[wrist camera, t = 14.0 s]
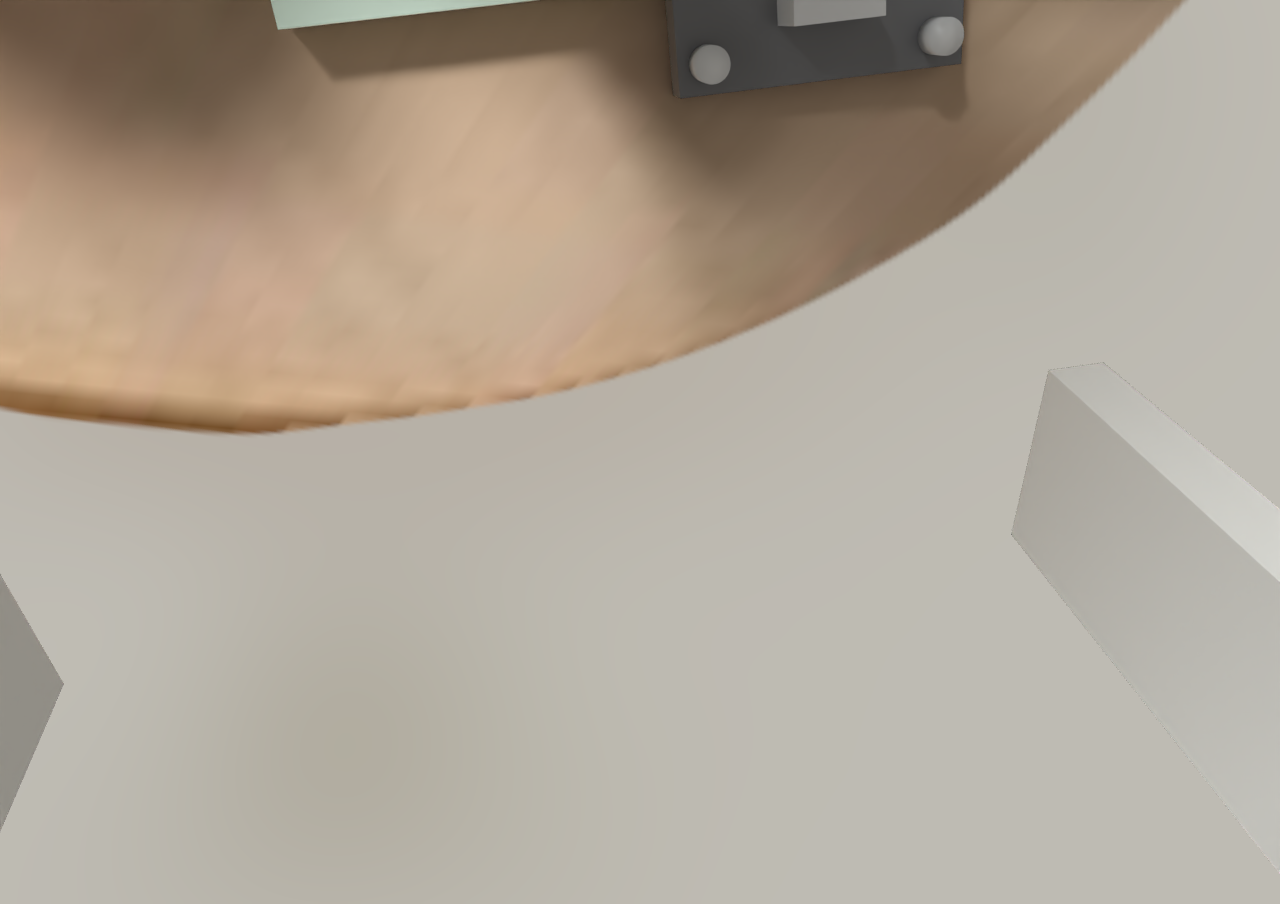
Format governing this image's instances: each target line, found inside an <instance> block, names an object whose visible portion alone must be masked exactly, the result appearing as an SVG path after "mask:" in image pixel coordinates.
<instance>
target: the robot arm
mask: <svg viewBox="0 0 1280 904" xmlns="http://www.w3.org/2000/svg"><path fill="white" fill-rule="evenodd" d="M1011 535H1012V536H1013V537H1014V539H1015V540H1016V541H1017V542H1018V544H1019V545H1020V546H1021V547H1022V549H1023V550H1024V551H1025V552H1026V554H1027V555H1028V556H1029V557H1030V559H1031V560H1032V561H1033V563H1034V564H1035V565H1036V566H1037V568H1038V569H1039V570H1040V571H1041V572H1042V574H1043V575H1044V576H1045V578H1046V579H1047V580H1048V581H1049V583H1050V584H1051V585H1052V586H1053V588H1054V589H1055V590H1056V591H1057V593H1058V594H1059V595H1060V597H1061V598H1062V599H1063V601H1064V602H1065V603H1066V604H1067V605H1068V607H1069V608H1070V609H1071V611H1072V612H1073V613H1074V614H1075V616H1076V617H1077V618H1078V619H1079V621H1080V622H1081V623H1082V624H1083V626H1084V627H1085V628H1086V629H1087V631H1088V632H1089V633H1090V635H1091V636H1092V637H1093V638H1094V640H1095V641H1096V642H1097V644H1098V645H1099V646H1100V647H1101V648H1102V650H1103V651H1104V652H1105V654H1106V655H1107V656H1108V657H1109V659H1110V660H1111V661H1112V663H1113V664H1114V665H1115V666H1116V668H1117V669H1118V670H1119V671H1120V673H1121V674H1122V675H1123V676H1124V678H1125V679H1126V680H1127V681H1128V683H1129V684H1130V685H1131V686H1132V688H1133V689H1134V690H1135V691H1136V693H1137V694H1138V695H1139V697H1140V698H1141V699H1142V700H1143V702H1144V703H1145V704H1146V705H1147V707H1148V708H1149V709H1150V711H1151V712H1152V713H1153V714H1154V716H1155V717H1156V718H1157V719H1158V721H1159V722H1160V723H1161V724H1162V726H1163V727H1164V728H1165V729H1166V731H1167V732H1168V733H1169V735H1170V736H1171V737H1172V738H1173V740H1174V741H1175V742H1176V743H1177V745H1178V746H1179V747H1180V748H1181V750H1182V751H1183V752H1184V754H1185V755H1186V756H1187V757H1188V759H1189V760H1190V761H1191V762H1192V764H1193V765H1194V766H1195V767H1196V769H1197V770H1198V771H1199V773H1200V774H1201V775H1202V776H1203V778H1204V779H1205V780H1206V781H1207V783H1208V784H1209V785H1210V787H1211V788H1212V789H1213V790H1214V791H1215V793H1216V794H1217V795H1218V797H1219V798H1220V799H1221V800H1222V802H1223V803H1224V804H1225V805H1226V807H1227V808H1228V809H1229V810H1230V812H1231V813H1232V814H1233V816H1234V817H1235V818H1236V819H1237V821H1238V822H1239V823H1240V824H1241V826H1242V827H1243V828H1244V829H1245V831H1246V832H1247V833H1248V835H1249V836H1250V837H1251V838H1252V839H1253V841H1254V842H1255V843H1256V845H1257V846H1258V847H1259V849H1260V850H1261V851H1262V852H1263V854H1264V855H1265V856H1266V857H1267V859H1269V861H1270V862H1271V864H1272V865H1273V866H1274V867H1275V869H1276V870H1277V871H1278V872H1279V874H1280V509H1279V508H1278V507H1277V506H1276V505H1274V504H1273V503H1272V502H1271V501H1270V500H1268V499H1267V498H1266V497H1265V496H1264V495H1262V494H1261V493H1260V492H1259V491H1258V490H1256V489H1255V488H1254V487H1253V486H1252V485H1250V484H1249V483H1248V482H1247V481H1245V480H1244V479H1243V478H1242V477H1241V476H1239V475H1238V474H1237V473H1236V472H1235V471H1233V470H1232V469H1231V468H1230V467H1229V466H1227V465H1226V464H1225V463H1224V462H1223V461H1221V460H1220V459H1219V458H1218V457H1217V456H1215V455H1214V454H1213V453H1212V452H1211V451H1209V450H1208V449H1207V448H1206V447H1204V446H1203V445H1202V444H1201V443H1200V442H1199V441H1197V440H1196V439H1195V438H1194V437H1192V436H1191V435H1190V434H1189V433H1188V432H1187V431H1185V430H1184V429H1183V428H1182V427H1180V426H1179V425H1178V424H1177V423H1176V422H1174V421H1173V420H1172V419H1171V418H1169V417H1168V416H1167V415H1166V414H1165V413H1163V412H1162V411H1161V410H1160V409H1159V408H1158V407H1156V406H1155V405H1154V404H1153V403H1152V402H1150V401H1149V400H1148V399H1147V398H1146V397H1144V396H1143V395H1142V394H1141V393H1140V392H1138V391H1137V390H1136V389H1135V388H1133V387H1132V386H1131V385H1130V384H1129V383H1128V382H1126V381H1125V380H1124V379H1123V378H1122V377H1120V376H1119V375H1118V374H1117V373H1115V372H1114V371H1113V370H1112V369H1111V368H1109V367H1108V366H1107V365H1106V364H1105V363H1097V364H1090V365H1082V366H1075V367H1068V368H1061V369H1053V370H1049V371H1048V375H1047V380H1046V384H1045V389H1044V393H1043V398H1042V402H1041V407H1040V411H1039V415H1038V420H1037V424H1036V428H1035V433H1034V437H1033V442H1032V446H1031V450H1030V455H1029V459H1028V463H1027V468H1026V472H1025V477H1024V481H1023V485H1022V490H1021V494H1020V499H1019V503H1018V508H1017V512H1016V516H1015V520H1014V525H1013V530H1012V534H1011ZM63 685H64V683H63V682H62V680H61V678H60V676H59V675H58V673H57V671H56V670H55V668H54V666H53V664H52V663H51V661H50V659H49V657H48V656H47V654H46V652H45V651H44V649H43V647H42V645H41V644H40V642H39V640H38V639H37V637H36V635H35V633H34V632H33V630H32V628H31V626H30V625H29V623H28V621H27V620H26V618H25V616H24V614H23V613H22V611H21V609H20V608H19V606H18V604H17V602H16V601H15V599H14V597H13V596H12V594H11V592H10V590H9V589H8V587H7V585H6V583H5V582H4V580H3V578H2V577H1V575H0V831H1V829H2V826H3V824H4V822H5V819H6V817H7V814H8V812H9V810H10V807H11V805H12V803H13V800H14V798H15V796H16V794H17V791H18V789H19V787H20V784H21V782H22V780H23V778H24V775H25V773H26V770H27V768H28V766H29V763H30V761H31V759H32V757H33V754H34V752H35V750H36V747H37V745H38V743H39V740H40V738H41V736H42V733H43V731H44V729H45V726H46V724H47V722H48V719H49V717H50V715H51V713H52V710H53V708H54V706H55V703H56V701H57V699H58V696H59V694H60V692H61V689H62V687H63Z"/></svg>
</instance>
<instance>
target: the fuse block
mask: <svg viewBox="0 0 1280 904" xmlns="http://www.w3.org/2000/svg"><path fill="white" fill-rule="evenodd" d="M665 7H666V19H667V31H668V43H669V54H670V66H671V78H672V90H673V95H674V96H676V97H678V98H688V97H696V96H705V95H713V94H721V93H729V92H737V91H745V90H753V89H761V88H769V87H777V86H785V85H793V84H801V83H809V82H817V81H825V80H833V79H842V78H850V77H858V76H866V75H874V74H882V73H890V72H898V71H906V70H914V69H922V68H930V67H938V66H946V65H954V64H961V57H962V42H963V39H964V28H963V7H964V0H665Z"/></svg>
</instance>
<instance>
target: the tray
mask: <svg viewBox="0 0 1280 904" xmlns="http://www.w3.org/2000/svg"><path fill="white" fill-rule="evenodd" d="M529 1H538V0H271V4H272V8H273V12H274V16H275V20H276V24H277V28H278V30H280V29H294V28H303V27H311V26H320V25H329V24H337V23H346V22H355V21H364V20H372V19H381V18H390V17H398V16H407V15H416V14H425V13H433V12H442V11H451V10H459V9H468V8H477V7H486V6H494V5H503V4H512V3H521V2H529Z"/></svg>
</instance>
